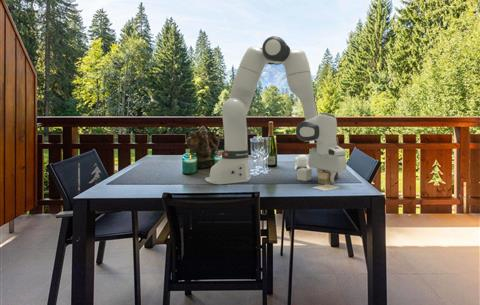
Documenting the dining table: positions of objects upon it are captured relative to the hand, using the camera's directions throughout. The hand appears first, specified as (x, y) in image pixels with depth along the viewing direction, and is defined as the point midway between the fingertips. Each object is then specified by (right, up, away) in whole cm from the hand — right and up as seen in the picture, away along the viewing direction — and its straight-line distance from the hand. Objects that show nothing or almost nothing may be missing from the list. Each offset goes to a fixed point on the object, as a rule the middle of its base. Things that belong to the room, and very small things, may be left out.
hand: (326, 179), depth 171 cm
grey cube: (-8, -1, +9) cm, 12 cm away
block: (+5, 0, +13) cm, 14 cm away
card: (-2, -3, -9) cm, 10 cm away
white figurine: (-5, +3, +36) cm, 37 cm away
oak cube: (0, -2, 0) cm, 2 cm away
